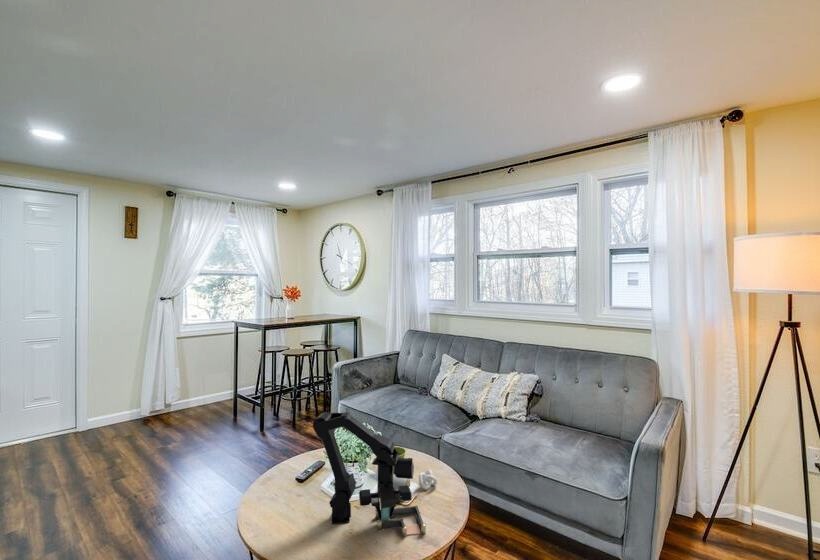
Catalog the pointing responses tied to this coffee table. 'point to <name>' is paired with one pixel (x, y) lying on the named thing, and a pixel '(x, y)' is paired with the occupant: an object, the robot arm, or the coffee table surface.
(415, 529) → the pad
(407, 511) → the metal rail track
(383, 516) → the peg
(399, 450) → the plant pot
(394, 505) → the robot arm
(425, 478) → the knot
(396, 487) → the ceramic mug
